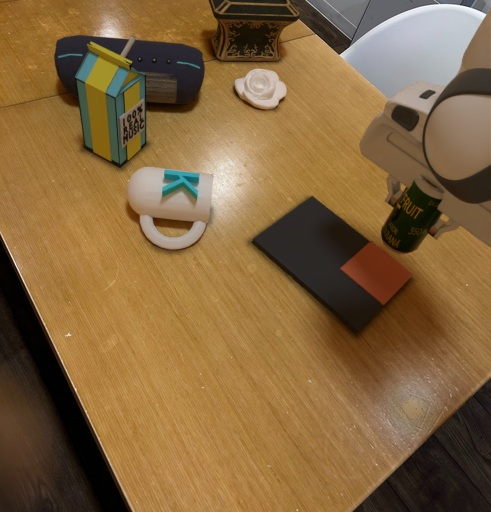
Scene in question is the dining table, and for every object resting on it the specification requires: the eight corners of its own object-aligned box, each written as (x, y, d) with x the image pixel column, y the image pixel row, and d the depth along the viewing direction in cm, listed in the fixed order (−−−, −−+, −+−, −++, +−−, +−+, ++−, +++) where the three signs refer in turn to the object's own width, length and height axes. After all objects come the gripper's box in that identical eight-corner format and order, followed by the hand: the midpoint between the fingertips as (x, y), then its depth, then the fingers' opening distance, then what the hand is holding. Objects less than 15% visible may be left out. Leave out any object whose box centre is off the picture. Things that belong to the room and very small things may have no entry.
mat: (410, 278, 74) (413, 274, 73) (356, 334, 67) (359, 330, 66) (310, 199, 81) (312, 194, 80) (251, 242, 74) (253, 237, 73)
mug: (126, 150, 67) (215, 161, 68) (132, 175, 76) (210, 184, 77) (115, 234, 64) (207, 243, 66) (122, 249, 73) (203, 257, 74)
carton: (151, 142, 83) (151, 42, 68) (121, 168, 78) (115, 67, 64) (114, 123, 84) (107, 21, 70) (84, 148, 80) (69, 44, 65)
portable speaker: (56, 108, 84) (46, 55, 76) (62, 73, 90) (53, 20, 82) (203, 117, 89) (209, 68, 81) (200, 83, 94) (205, 33, 86)
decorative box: (277, 37, 108) (299, -62, 92) (289, 63, 103) (314, -37, 87) (186, 35, 103) (192, -70, 87) (193, 63, 98) (202, -44, 82)
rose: (285, 60, 95) (294, 91, 90) (280, 80, 99) (289, 111, 93) (234, 57, 93) (240, 89, 88) (231, 77, 97) (236, 109, 91)
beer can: (402, 220, 69) (443, 156, 59) (425, 249, 66) (472, 187, 57) (371, 229, 67) (408, 165, 57) (394, 260, 64) (437, 198, 55)
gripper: (570, 177, 50) (494, 256, 61) (406, 73, 57) (364, 162, 68) (546, 206, 47) (470, 284, 58) (375, 92, 53) (336, 182, 64)
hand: (412, 217), depth 63 cm, fingers closed on beer can, 5 cm apart
